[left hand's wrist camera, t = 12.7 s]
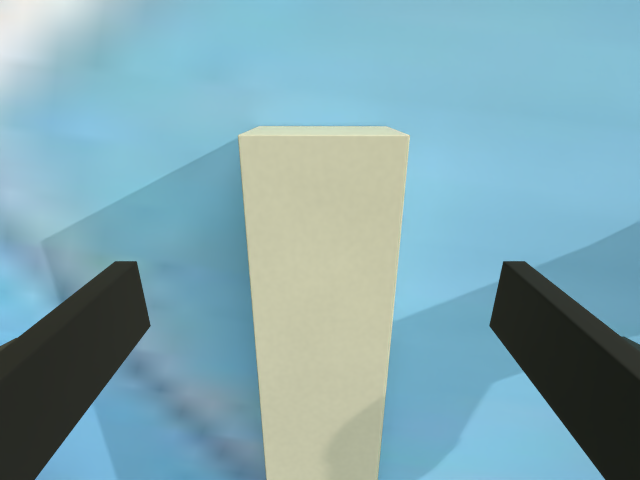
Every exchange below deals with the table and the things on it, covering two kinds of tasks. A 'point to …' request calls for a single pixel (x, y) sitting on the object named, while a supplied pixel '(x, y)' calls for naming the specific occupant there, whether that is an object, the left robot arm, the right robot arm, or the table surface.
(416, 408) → the table surface
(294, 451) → the thick block
